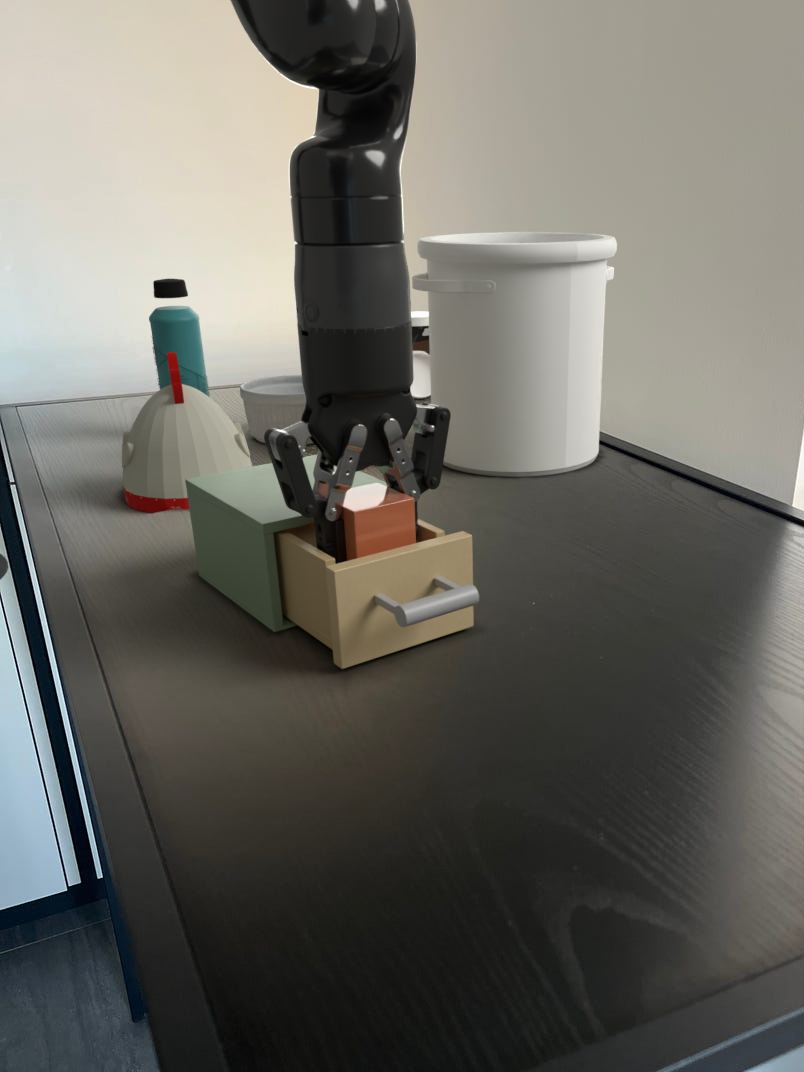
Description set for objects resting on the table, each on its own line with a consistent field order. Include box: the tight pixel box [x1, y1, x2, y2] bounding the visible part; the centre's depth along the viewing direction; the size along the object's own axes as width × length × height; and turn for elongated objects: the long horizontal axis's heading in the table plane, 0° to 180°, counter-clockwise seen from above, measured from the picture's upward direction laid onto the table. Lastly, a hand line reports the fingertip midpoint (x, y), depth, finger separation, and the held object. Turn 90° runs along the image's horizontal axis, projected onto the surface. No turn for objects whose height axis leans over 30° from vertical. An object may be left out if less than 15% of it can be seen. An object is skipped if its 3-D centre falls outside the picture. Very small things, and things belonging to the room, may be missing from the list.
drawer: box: [273, 518, 480, 670], centre depth 72 cm, size 18×11×7 cm, turn 37°
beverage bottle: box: [148, 278, 211, 398], centre depth 126 cm, size 6×7×20 cm
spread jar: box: [410, 311, 431, 400], centre depth 152 cm, size 12×11×12 cm
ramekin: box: [239, 374, 315, 446], centre depth 129 cm, size 13×13×7 cm
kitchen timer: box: [121, 352, 254, 514], centre depth 104 cm, size 14×14×15 cm
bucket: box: [411, 231, 618, 478], centre depth 114 cm, size 26×22×25 cm
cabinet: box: [185, 454, 388, 633], centre depth 81 cm, size 15×13×9 cm
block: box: [339, 483, 416, 561], centre depth 70 cm, size 5×5×5 cm
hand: (369, 555), depth 71 cm, fingers closed on block, 5 cm apart
